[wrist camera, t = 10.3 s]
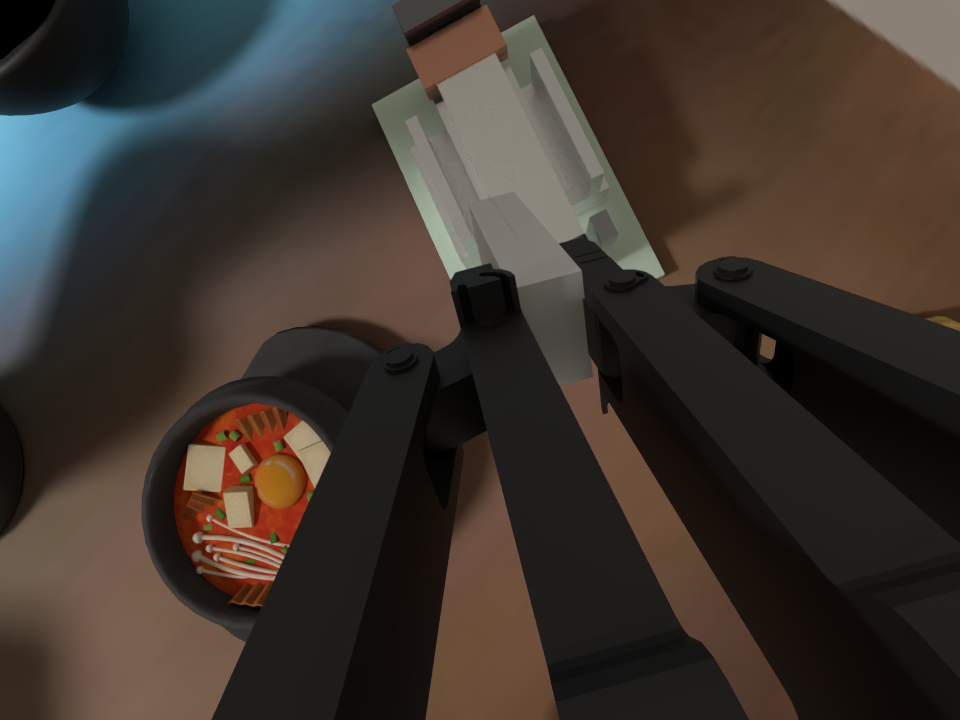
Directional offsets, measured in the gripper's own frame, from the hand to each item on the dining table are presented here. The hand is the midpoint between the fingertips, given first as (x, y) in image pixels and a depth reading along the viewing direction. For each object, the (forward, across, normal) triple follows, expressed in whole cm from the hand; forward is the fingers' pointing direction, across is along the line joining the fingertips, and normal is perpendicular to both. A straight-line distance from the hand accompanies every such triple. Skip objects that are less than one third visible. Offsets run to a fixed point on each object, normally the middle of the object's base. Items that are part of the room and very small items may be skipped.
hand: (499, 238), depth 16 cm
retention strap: (+17, +3, -1) cm, 17 cm away
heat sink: (+22, +4, -4) cm, 23 cm away
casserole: (+14, -17, -21) cm, 31 cm away
